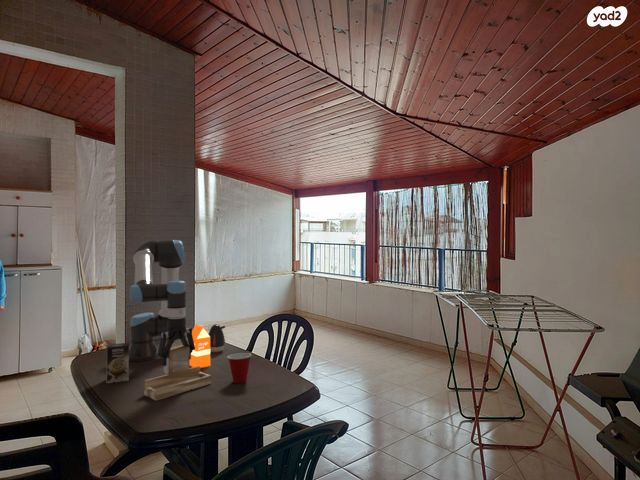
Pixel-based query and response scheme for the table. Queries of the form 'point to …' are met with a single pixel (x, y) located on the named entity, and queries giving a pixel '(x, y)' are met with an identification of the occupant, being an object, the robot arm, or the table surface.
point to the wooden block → (179, 359)
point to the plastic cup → (239, 366)
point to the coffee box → (117, 363)
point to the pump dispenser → (216, 338)
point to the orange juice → (200, 348)
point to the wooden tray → (175, 383)
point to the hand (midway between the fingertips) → (176, 370)
